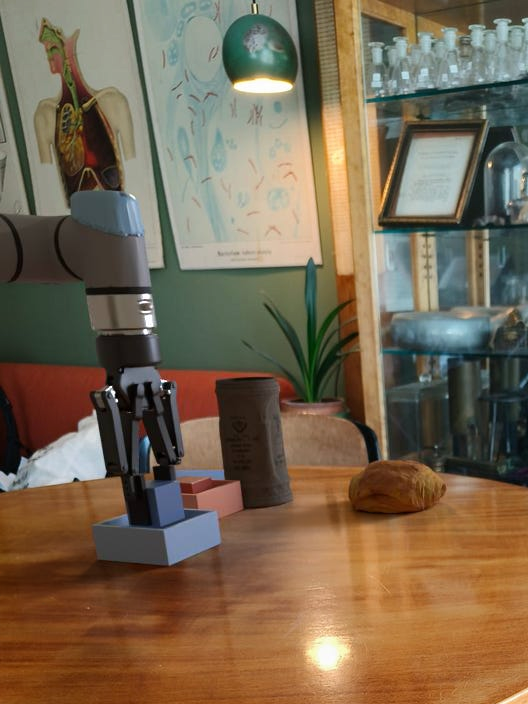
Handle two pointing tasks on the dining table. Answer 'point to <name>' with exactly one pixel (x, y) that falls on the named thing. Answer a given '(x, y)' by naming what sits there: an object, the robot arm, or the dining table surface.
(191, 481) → the red block
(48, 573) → the dining table surface
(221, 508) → the red bin
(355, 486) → the croissant
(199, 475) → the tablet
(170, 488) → the blue block
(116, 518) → the blue bin
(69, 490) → the dining table surface
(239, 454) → the brown tall cylinder
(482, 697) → the dining table surface
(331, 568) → the dining table surface
